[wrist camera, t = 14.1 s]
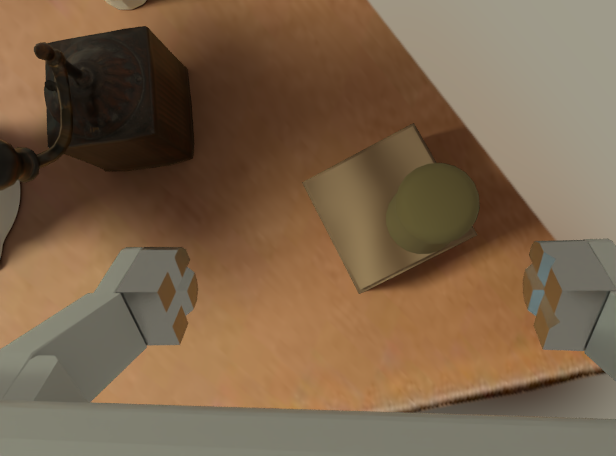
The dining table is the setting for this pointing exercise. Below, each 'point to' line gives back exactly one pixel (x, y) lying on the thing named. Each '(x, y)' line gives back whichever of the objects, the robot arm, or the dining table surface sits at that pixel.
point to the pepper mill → (109, 105)
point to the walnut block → (371, 207)
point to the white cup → (125, 4)
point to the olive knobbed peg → (432, 208)
